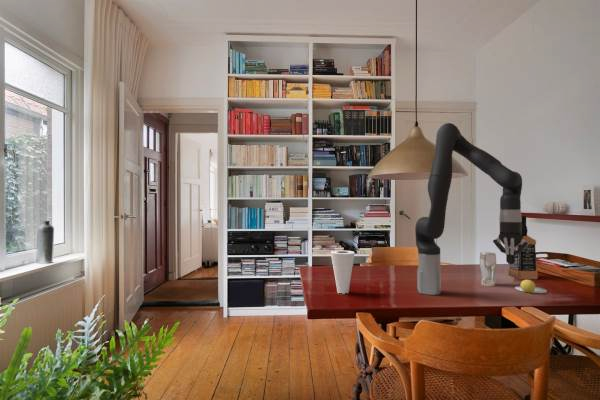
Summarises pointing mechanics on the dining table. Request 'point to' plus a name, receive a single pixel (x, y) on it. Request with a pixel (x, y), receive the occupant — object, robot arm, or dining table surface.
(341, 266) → the cup
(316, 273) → the dining table surface
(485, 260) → the beer glass
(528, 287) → the ball
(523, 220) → the whiskey bottle
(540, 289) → the disc
